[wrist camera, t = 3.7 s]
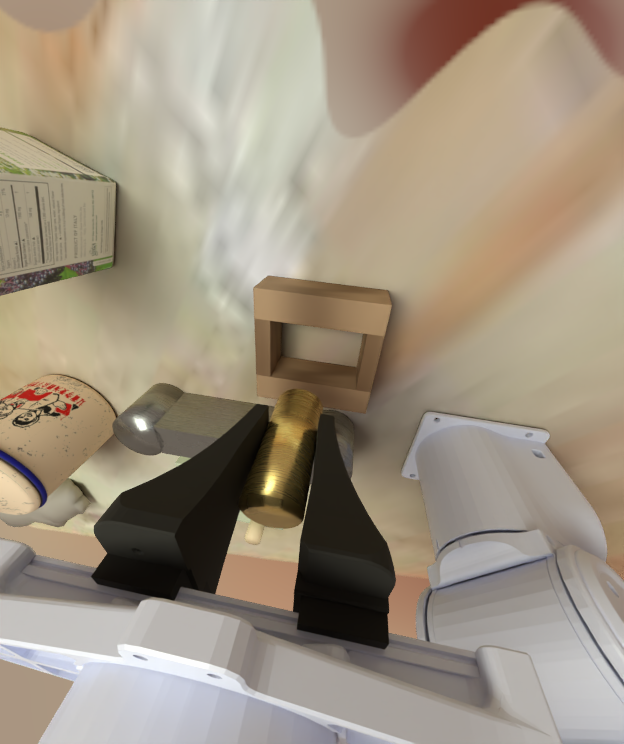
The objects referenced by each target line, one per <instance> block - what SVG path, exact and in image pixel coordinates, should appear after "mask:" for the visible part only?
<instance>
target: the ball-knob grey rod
mask: <svg viewBox="0 0 624 744" xmlns="http://www.w3.org/2000/svg"><path fill="white" fill-rule="evenodd" d="M255 405H256V404H253V403H247V402H241V401H235V400H229V399H222V398H216V397H210V396H204V395H198V394H191V393H184V392H183V391H182V390H180V389H179V388H177V387H175V386H173V385H170V384H166V383H159V384H155V385H154V386H152V387H151V388H150V389H149V390H148V391H147V392H145V393H144V394H143V395H142V396H141V397H140V398H139V399H138V400H137V401H135V402H134V403H133V404H132V405H131V406H130V407H129V408H128V409H126V410H125V411H124V412H123V413H122V414H121V415H120V416H119V417H118V418H116V419H115V420H114V422H113V425H112V428H113V432H114V434H115V436H116V437H117V438H118V440H119V441H120V442H121V443H122V444H124V445H125V446H126V447H128V448H129V449H131V450H133V451H135V452H137V453H140V454H144V455H157V454H159V453H161V452H162V453H166V454H172V455H177V456H182V457H188V458H192V457H194V456H195V455H197V454H198V453H200V452H201V451H203V450H204V449H205V448H207V447H208V446H210V445H211V444H212V443H214V442H215V441H216V440H217V439H218V438H220V437H221V436H222V435H223V434H225V433H226V432H227V431H228V430H229V429H230V428H232V427H233V426H234V425H235V424H236V423H237V422H238V421H239V420H240V419H241V418H242V417H244V416H245V415H246V414H247V413H248V412H249V411H250V410H251V409H252V408H253V407H254V406H255ZM274 409H275V407H272V406H269V421H270V419H271V416H272V414H273V411H274ZM322 414H326V415H332V416H334V417H335V430H336V436H337V440H338V444H339V448H340V452H341V455H342V458H343V461H344V464H345V467H346V470H347V472H348V475H349V477H350V479H351V477H352V469H353V442H354V426H353V424H352V422H351V420H350V419H349V418H348V417H347V416H346V415H344V414H343V413H340V412H338V411H334V410H323V412H322ZM314 458H315V457H314ZM313 470H314V463H313V468H312V474H311V479H310V484H312V480H313Z"/></svg>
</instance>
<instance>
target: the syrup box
mask: <svg viewBox="0 0 624 744" xmlns="http://www.w3.org/2000/svg"><path fill="white" fill-rule="evenodd" d="M115 201H116V183H115V182H114V181H113V180H111V179H110V178H108V177H106V176H104V175H102V174H100V173H98V172H96V171H94V170H93V169H91V168H89V167H87V166H85V165H83V164H81V163H79V162H78V161H76V160H74V159H72V158H70V157H68V156H66V155H64V154H63V153H61V152H59V151H57V150H55V149H53V148H51V147H50V146H48V145H46V144H44V143H42V142H40V141H39V140H37V139H35V138H33V137H31V136H29V135H27V134H25V133H22V132H19V131H14V130H9V129H5V128H0V296H1V295H5V294H9V293H13V292H17V291H20V290H24V289H28V288H33V287H36V286H40V285H44V284H48V283H52V282H56V281H60V280H64V279H68V278H72V277H76V276H80V275H84V274H88V273H92V272H96V271H100V270H104V269H108V268H111V267H112V265H113V257H114V234H115Z"/></svg>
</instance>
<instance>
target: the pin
mask: <svg viewBox="0 0 624 744" xmlns="http://www.w3.org/2000/svg"><path fill="white" fill-rule="evenodd" d="M322 412H323V406H322V403H321V401H320V400H319V398H318V397H317V396H316V395H314V394H313V393H311V392H309V391H306V390H303V389H290V390H287V391H285V392H283V393H282V394H281V395H280V396H279V398H278V401H277V403H276V406H275V409H274V411H273V414H272V416H271V419H270V421H269V424H268V427H267V429H266V432H265V434H264V437H263V439H262V442H261V445H260V447H259V450H258V452H257V455H256V457H255V460H254V463H253V465H252V468H251V470H250V473H249V475H248V478H247V481H246V483H245V486H244V488H243V491H242V493H241V496H240V499H239V501H238V506H239V509H240V510H241V512H242V513H243V514H244V515H245V516H246V517H248V518H249V519H251V520H252V521H254V522H256V523H259V524H261V525H264V526H268V527H272V528H281V529H286V528H292V527H296V526H298V525H299V524H301V523H302V521H303V519H304V513H305V507H306V502H307V496H308V491H309V485H310V479H311V474H312V468H313V463H314V457H315V449H316V439H317V430H318V422H319V418H320V414H322Z"/></svg>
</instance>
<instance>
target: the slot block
mask: <svg viewBox="0 0 624 744" xmlns="http://www.w3.org/2000/svg"><path fill="white" fill-rule="evenodd" d="M253 292H254V319H255V347H256V375H257V396H260V397H266V398H272V399H278V398H279V396H280V395H281V394H282V393H283V392H285V391H287V390H290V389H303V390H306V391H309V392H311V393H313V394H314V395H316V396H317V397H318V398H319V400H320V401H321V403H322V406H323V407H328V408H334V409H340V410H346V411H352V412H358V413H365V414H366V409H367V405H368V401H369V397H370V393H371V389H372V385H373V381H374V377H375V373H376V369H377V365H378V361H379V357H380V352H381V348H382V344H383V340H384V336H385V332H386V328H387V324H388V320H389V316H390V312H391V308H392V304H391V300H390V296H389V293H388V290H380V289H372V288H364V287H356V286H348V285H340V284H332V283H323V282H315V281H307V280H299V279H291V278H283V277H275V276H267V277H266V278H265V279H263V280H262V281H261V282H260V283H259V284H257V285H256V286H255V287H254V288H253ZM282 322H284V323H291V324H298V325H305V326H313V327H320V328H327V329H335V330H342V331H349V332H356V333H363V338H362V343H361V348H360V353H359V358H358V363H357V368H356V367H349V366H343V365H336V364H329V363H322V362H316V361H309V360H302V359H295V358H289V357H282V356H281V329H282Z"/></svg>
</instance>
